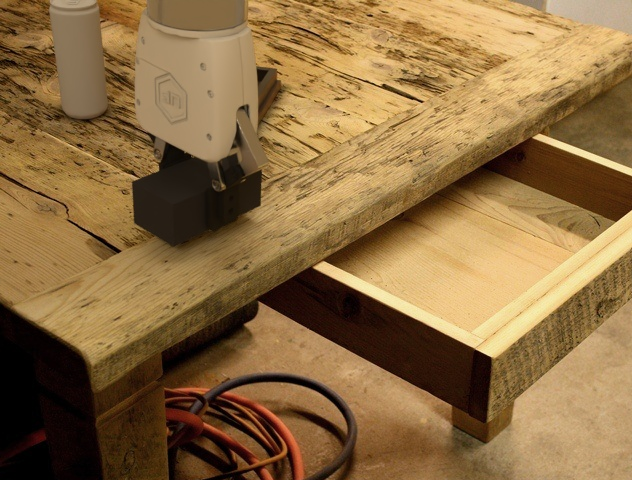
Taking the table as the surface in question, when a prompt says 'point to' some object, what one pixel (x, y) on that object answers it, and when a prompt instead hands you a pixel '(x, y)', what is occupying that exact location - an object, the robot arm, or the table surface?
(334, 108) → the table surface
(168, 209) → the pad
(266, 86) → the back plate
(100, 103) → the beverage can
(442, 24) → the table surface
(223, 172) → the robot arm
